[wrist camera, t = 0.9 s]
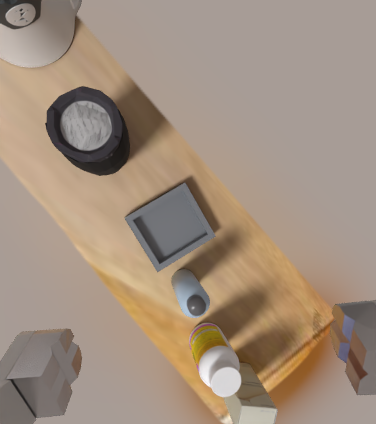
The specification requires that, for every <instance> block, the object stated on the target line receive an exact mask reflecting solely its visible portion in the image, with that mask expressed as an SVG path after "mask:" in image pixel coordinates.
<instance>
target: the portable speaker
mask: <svg viewBox="0 0 376 424" xmlns="http://www.w3.org/2000/svg"><path fill="white" fill-rule="evenodd" d="M45 125H46V130H47V132H48V135H49V137H50V139H51V141H52V143H53V144H54V146H55V147H56V148H57V149H58V150H59V151H60V152H62V154H63V155H64V156H65V157H66V158H67V159H68V160H69V161H70V162H71V163H72V164H73V165H75V166H76V167H78V168H80V169H82V170H84V171H86V172H89V173H93V174H96V175H99V176H101V175H109V174H113V173H115V172H117V171H119V170H120V169H121V167H122V166H123V165H124V164H125V163H126V161H127V159H128V156H129V152H130V142H129V135H128V130H127V127H126V124H125V121H124V119H123V117H122V115H121V113H120V111H119V110H118V109H117V106H116V105H115V103H114V102H113V100H112V99H110V98H109V97H108V96H107V95H105V94H104V93H103V92H101V91H100V90H96V89H92V88H88V87H84V86H82V87H79V88H76V89H74V90H71V91H69V92H67V93H65V94H63V95H61V96H59V97H58V98H57V99H56V101H55V102H54V103H53V104H52V105H51V106H50V108H49V109H48V110H47V123H45Z"/></svg>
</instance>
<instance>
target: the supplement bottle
mask: <svg viewBox="0 0 376 424" xmlns="http://www.w3.org/2000/svg"><path fill="white" fill-rule="evenodd" d="M189 345H190V349H191V351H192V354H193V357H194V360H195V363H196V365H197V368H198V371H199V374H200V377H201V379H202V380H203V382H204V383H205V384H206V385H208V386H209V387H211V388H212V390H213V392H214V393H215V394H216V395H218V396H220V397H228V396H231V395H233V394H234V393H236V392H237V390H238V389H239V388H240V385H241V375H240V373H239V369H240V364H239V359H238V357H237V355H236V353H235V352H234V350H233V348H232V347H231V345H230V344H229V342H228V340H227V339H226V337H225V335H224V334H223V332H222V331H221V329H220V328H219V327H218V326H217V325H215V324H213V323H202V324H200V325H198V326H197V327H195V328H194V330H193V331H192V332H191V335H190V338H189Z"/></svg>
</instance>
